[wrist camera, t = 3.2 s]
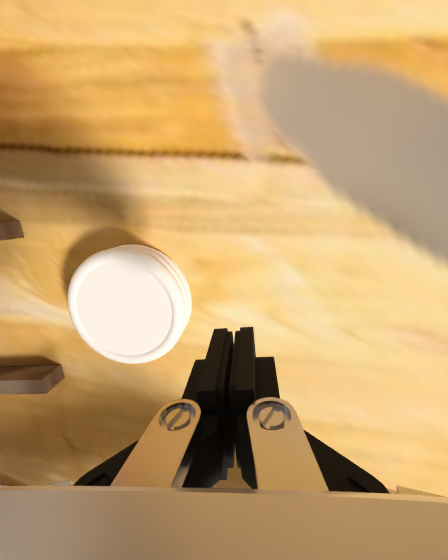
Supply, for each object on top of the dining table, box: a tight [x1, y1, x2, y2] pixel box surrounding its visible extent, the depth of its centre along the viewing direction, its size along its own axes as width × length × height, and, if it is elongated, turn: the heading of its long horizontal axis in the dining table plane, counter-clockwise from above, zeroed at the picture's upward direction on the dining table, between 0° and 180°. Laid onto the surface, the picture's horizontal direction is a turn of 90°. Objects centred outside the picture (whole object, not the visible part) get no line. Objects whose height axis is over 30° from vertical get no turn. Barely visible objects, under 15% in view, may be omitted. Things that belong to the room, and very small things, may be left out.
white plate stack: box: [67, 244, 192, 364], centre depth 23 cm, size 10×10×4 cm
